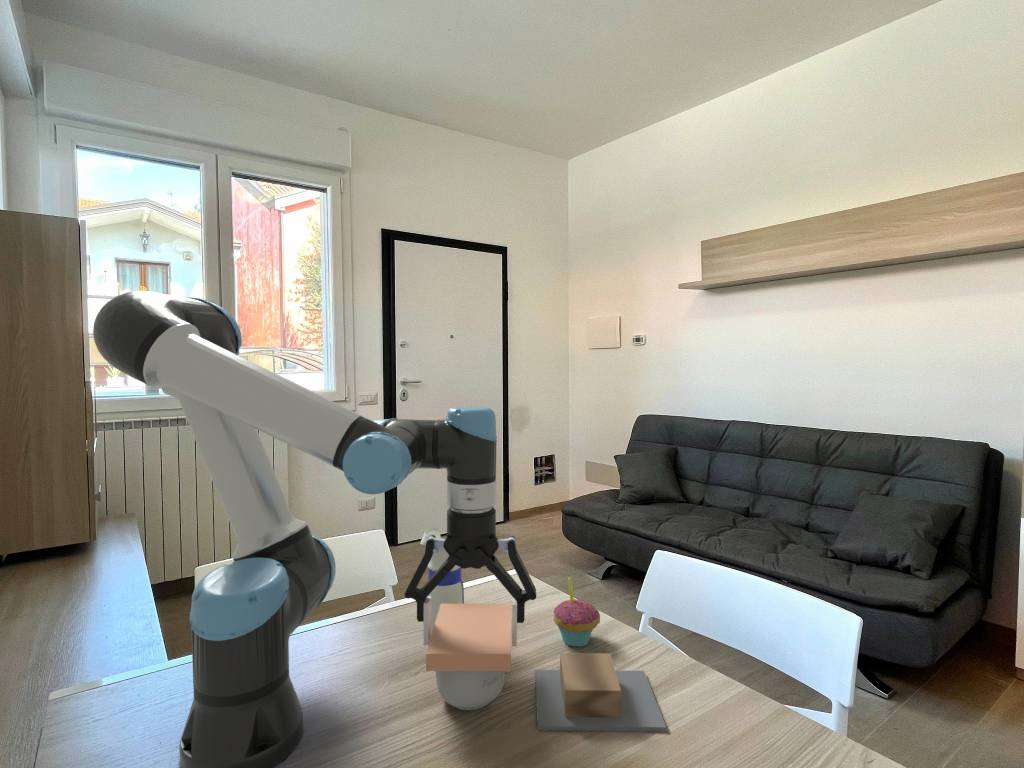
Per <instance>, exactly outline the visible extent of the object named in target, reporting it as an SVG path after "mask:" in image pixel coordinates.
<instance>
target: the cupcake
mask: <svg viewBox="0 0 1024 768" xmlns="http://www.w3.org/2000/svg"><path fill="white" fill-rule="evenodd" d="M567 574H568V575H567V576H568V577H567V581H568V584H567V585H568V591H569V599H567V600H564V601H562V602H561V603H559V604H558V605H556V607H554V609H553V621H554V624H555V625H556V626H557V628H558V630H559V632H560V634H561V638H562V639H561V640H562V641H563V643H565V644H566V645H568V646H571V647H576V646H578V647H583V646H586V645H588V643H589V642H590V638H591V635H592V632H593V631H594V629H595V628H597V626H598V625H599V624H600V623H601V614H600V612H599V611H598V609H597V608H596V607H595V606H594V605H592V604H591V603H589V602H587V601H586V600H581V599H575V597H574V590H573V582H572V581H573V580H572V577H571V575H570V573H569V572H568V573H567Z"/></svg>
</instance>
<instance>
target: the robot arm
mask: <svg viewBox="0 0 1024 768" xmlns="http://www.w3.org/2000/svg"><path fill="white" fill-rule="evenodd" d="M92 330H93V331H92V334H93V335H92V336H93V341H94V344H95V347H96V348H97V351H98V353H100V355H101V356H102V358H103V359H104V360H105V361H106V362H107V363H108V364H110V365H111V367H113V368H115V369H116V370H118V371H120V372H122V373H123V374H125V375H127V376H129V377H131V378H132V379H134V380H137V381H139V382H141V383H144V384H145V385H147V386H149V387H151V388H154V389H158V390H159V389H161V390H162V392H163V394H164V395H167V396H170V397H173V398H175V399H176V400H178V401H179V404H180V406H181V409H182V412H183V413H184V416H185V419H186V421H187V424H188V425H189V428H190V430H191V433H192V435H193V437H194V440H195V442H196V445H197V447H198V449H199V452H200V455H201V457H202V459H203V461H204V463H205V467H206V468H207V471H208V474H209V476H210V479H211V481H212V484H213V485H214V487H215V491H216V492H217V495H218V497H219V501H220V502H221V504H222V507H223V509H224V512H225V514H226V516H227V519H228V521H229V524H230V526H231V528H232V531H233V533H234V535H235V539H236V540H237V544H236V547H235V549H234V550H233V552H232V555H231V557H232V559H233V561H232V562H231V564H224V565H220V566H219V567H217V568H215V569H213V570H211V571H210V572H208V573H207V574H206V575H205V576H204V577H202V578H201V580H199V581H198V582H197V584H196V586H195V588H194V590H193V592H192V595H191V607H190V612H189V623H190V628H191V652H192V653H191V654H192V655H191V656H192V657H191V658H192V678H193V679H192V682H193V683H192V684H193V699H192V703H191V705H190V706H191V707H190V710H189V712H188V715H187V719H186V722H185V726H184V728H183V731H182V735H181V736H180V737H181V738H180V740H179V766H180V768H273V767H275V766H276V765H278V764H279V763H280V762H282V761H283V760H285V759H286V758H287V757H288V756H289V755H290V754H291V753H293V751H294V750H295V749H296V747H297V746H298V745H299V743H300V742H301V739H302V738H303V735H304V729H305V728H304V722H305V721H304V720H305V719H304V710H303V706H302V704H301V702H300V700H299V697H298V694H297V692H296V689H295V687H294V683H293V682H292V680H291V677H290V650H289V645H290V643H289V641H290V636H291V635H292V634H293V633H294V631H295V630H297V628H298V627H299V626H300V625H301V624H302V623H304V621H305V620H306V619H307V617H309V616H310V615H311V613H312V612H313V611H314V610H316V609H317V608H318V607H319V606H320V605H321V604H322V603H323V601H324V600H325V598H326V597H327V595H328V594H329V592H330V590H331V588H332V587H333V584H334V581H335V578H336V570H337V568H336V567H337V566H336V559H335V557H334V553H333V552H332V549H331V548H330V546H329V545H328V544H327V543H326V541H324V539H320V538H318V537H317V536H316V535H313V534H312V532H311V530H310V528H309V526H308V525H309V524H308V523H307V522H306V521H304V520H301V519H299V518H297V517H295V516H293V513H292V511H291V509H290V505H289V504H288V501H287V499H286V497H285V493H284V491H283V489H282V486H281V485H280V482H279V479H278V477H277V475H276V473H275V472H276V471H275V470H274V467H273V465H272V463H271V460H270V457H269V455H268V453H267V451H266V449H265V446H264V444H263V441H262V439H261V437H260V434H259V432H258V431H260V432H262V433H263V434H266V435H268V436H270V437H272V438H274V439H276V440H278V441H280V442H282V443H285V444H287V445H289V446H291V447H293V448H294V449H297V450H298V451H301V452H303V453H305V454H307V455H310V456H311V457H313V458H315V459H317V460H319V461H322V462H323V463H326V464H328V465H330V466H332V467H334V468H335V469H338V470H340V471H341V472H343V474H344V477H345V478H346V480H347V481H348V483H349V484H350V486H351V487H353V489H355V490H356V491H358V492H360V493H362V494H367V495H378V494H380V495H381V494H384V493H386V492H388V491H389V490H392V489H394V488H396V487H398V486H399V485H400V484H402V483H403V482H404V480H405V479H406V478H407V477H408V476H409V474H412V472H414V471H415V470H416V469H437V470H441V469H446V475H447V476H446V481H447V482H446V502H447V504H448V505H447V504H446V505H447V506H448V507H449V508H448V509H447V511H446V537H445V538H446V539H441V538H442V537H441V538H436V536H434V535H430V536H429V538H428V540H427V542H426V546H425V549H424V550H425V551H424V555H423V556H422V559H421V560H420V563H419V564H418V566H417V568H416V570H415V572H414V574H413V576H412V578H411V580H410V582H409V584H408V586H407V588H406V590H405V592H404V597H405V598H406V599H413V600H414V601H415V602H416V621H417V622H418V623H420V622H421V623H422V622H423V646H428V645H429V642H430V638H431V596H428V595H429V594H430V593H431V592H432V591H433V590H434V588H435V587H436V586H437V585H438V584H439V583H440V582H441V580H442V579H443V578H444V577H445V576H446V575H447V574H448V572H450V571H451V570H452V569H453V567H454V566H455V565H457V566H459V567H461V570H462V569H463V570H464V569H468V568H471V569H472V568H473V569H478V570H479V569H482V567H483V568H484V567H486V569H487V570H488V571H489V572H490V573H492V574H493V576H494V577H495V578H496V579H497V580H498V581H499V582H500V583H501V585H502V586H503V587H504V588H505V589H506V590H507V592H508V593H509V594H510V595H511V597H512V600H511V601H512V603H511V647H517V645H518V644H517V643H518V624H524V622H525V609H526V608H525V607H526V606H525V605H526V602H528V601H530V600H531V601H534V600H536V598H537V588H536V586H535V584H534V582H533V580H532V578H531V576H530V574H529V571H528V570H527V568H526V566H525V564H524V562H523V560H522V558H521V556H520V554H519V552H518V550H517V543H516V540H517V539H516V537H515V536H514V535H509V536H508V537H507V538H501V539H500V538H499V539H498V537H497V534H496V533H497V531H496V530H497V527H496V526H497V525H496V522H497V520H496V519H497V517H496V516H497V513H496V512H497V511H496V509H495V507H494V506H496V504H497V446H498V445H497V439H498V436H497V424H496V423H497V422H496V420H497V418H496V413H495V412H494V411H493V409H491V408H489V407H485V406H473V405H471V406H470V405H469V406H454V407H450V408H449V409H448V410H447V414H446V417H445V418H444V419H435V420H434V419H408V418H407V419H403V418H397V417H396V418H395V417H392V418H388V419H387V418H386V419H376V420H371V419H369V418H366V417H364V416H363V415H361V414H359V413H357V412H355V411H353V410H351V409H348V408H346V407H344V406H343V405H341V404H339V403H337V402H335V401H332V400H330V399H328V398H326V397H324V396H322V395H320V394H318V393H316V392H314V391H313V390H310V389H308V388H305V387H304V386H302V385H300V384H297V383H296V382H293V381H291V380H289V379H288V378H285V377H283V376H281V375H279V374H277V373H275V372H273V371H271V370H270V369H269V370H268V369H267V368H265V367H262V365H261V366H260V365H258V364H256V363H255V362H252V361H251V360H248V359H246V358H245V357H242V356H240V348H242V343H243V339H242V337H243V336H242V332H241V330H240V327H239V324H238V323H237V321H236V320H235V318H234V317H233V315H232V314H231V313H230V312H229V311H227V310H226V309H225V308H223V307H222V306H220V305H218V304H215V303H213V302H211V301H208V300H205V299H202V298H199V297H188V296H187V297H186V296H185V297H183V296H178V295H173V294H172V295H171V294H164V293H160V292H155V291H147V290H137V291H136V290H135V291H128V292H125V293H122V294H119V295H116V296H115V297H113V298H111V299H110V300H109V301H107V302H106V303H105V304H104V305H103V306H102V307H101V308H100V310H99V311H98V313H97V315H96V316H95V320H94V322H93V329H92ZM441 547H444V549H445V550H446V552H447V553H448V554H449V556H448V558H447V559H446V560H445V562H444V563H443V564H442V565H441V566H440V567H439V569H438V570H437V571H436V572H435V573H434V574H433V575H432V577H431V578H430V579H429V580H427V581H426V582H425V583H424V585H423V586H422V587H421V588H419V587H418V585H419V584H420V582H421V579H422V577H423V576H424V573H425V572H426V570H427V568H428V567H427V566H428V564H429V562H430V560H431V558H432V556H433V553H437V552H438V551H439V549H440V548H441ZM498 549H501V550H502V551H503V553H504V554H507V555H508V557H509V560H510V562H511V565H512V567H513V568H514V570H515V572H516V575H517V577H518V579H519V581H520V583H521V584H522V587H523V589H522V588H521V586H520V585H519V583H517V582H516V580H515V579H514V578H513V577H512V575H511V574H510V573H509V572H508V571H507V570H506V568H505V567H504V566H503V565H502V564H501V563H500V561H499V560H498V558H497V556H496V555H495V553H496V552H497V551H498Z"/></svg>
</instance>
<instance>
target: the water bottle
mask: <svg viewBox="0 0 1024 768" xmlns="http://www.w3.org/2000/svg"><path fill="white" fill-rule="evenodd" d="M445 504H446V505H447V506H448V504H447V501H446V502H445ZM430 535H434V536H436V538H441V539H446V537H441V536H442V535H441V533H440V531H439V528H437V527H429V528H428V529H425V530H424V532H423V536H422V538H421V540H420V545H422V546H425V547H426V542H427V540H428V538H429V536H430ZM448 556H449V554H448V553H447V552H446V550H445V549H444V547H441V548H440V549H439V551H438V552H437V553H433V556H432V558H431V560H430V562H429V564H428V566H427V568H428V569H427V571H428V572H427V573H428V574H427V575H428V578H427V579H428V580H429V579H430V578H431V577H432V575H433V574H434V573H435V572H436V571H437V570H438V569H439V567H440V566H441V565H442V564H443V563H444V562H445V560H446V559H447V558H448ZM428 580H427V581H428ZM464 589H465V588H464V582H463V579H462V568H461V567H459V566H457V565H455V566H454V567H453V569H452V570H451V571H450V572H448V574H447V575H446V576H445V577H444V578H443V579H442V580H441V582H440V583H439V584H438V585H437V586H436V587H435V588H434V590H433V591H432V592H431V593H430V594H429V595H428V596H431V635H432V632H433V628H434V625H435V621H436V618H437V615H438V611H439V608H440V604H465V591H464Z"/></svg>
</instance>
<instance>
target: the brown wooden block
mask: <svg viewBox="0 0 1024 768" xmlns="http://www.w3.org/2000/svg"><path fill="white" fill-rule="evenodd" d="M559 670H560V681H561V688H562V696H563V704H564V712H565V717H601V718H621V689H620V685H619V682H618V679H617V675H616V672H615V671H616V670H615V667H614V663H613V660H612V656H611V653H608V652H607V653H603V652H602V653H600V652H599V653H598V652H594V653H593V652H591V653H590V652H586V653H585V652H583V653H582V652H581V653H580V652H578V653H577V652H576V653H575V652H572V653H571V652H560V654H559Z"/></svg>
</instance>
